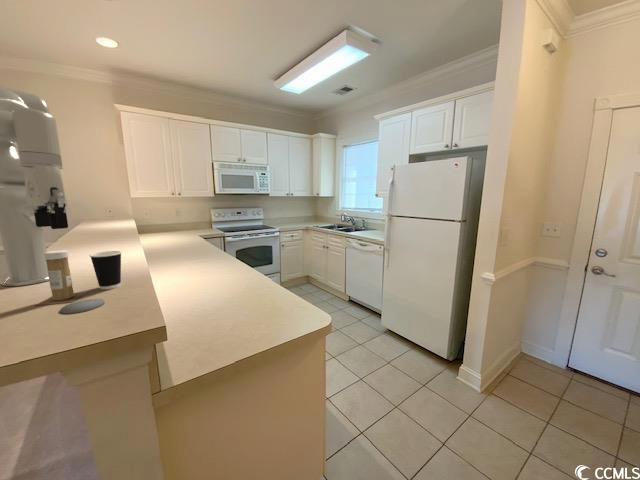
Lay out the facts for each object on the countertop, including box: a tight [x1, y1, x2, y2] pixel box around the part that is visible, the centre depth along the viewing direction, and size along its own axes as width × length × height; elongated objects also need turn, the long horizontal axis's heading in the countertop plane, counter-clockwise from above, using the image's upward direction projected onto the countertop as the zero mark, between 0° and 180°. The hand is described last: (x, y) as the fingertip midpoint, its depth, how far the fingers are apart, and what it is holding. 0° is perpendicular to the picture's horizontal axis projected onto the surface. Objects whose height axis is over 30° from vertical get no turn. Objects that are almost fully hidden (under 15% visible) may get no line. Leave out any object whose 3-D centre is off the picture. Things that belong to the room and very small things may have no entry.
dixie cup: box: [89, 250, 123, 290], centre depth 82 cm, size 8×8×11 cm
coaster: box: [60, 298, 105, 315], centre depth 68 cm, size 8×8×1 cm
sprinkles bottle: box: [44, 249, 75, 301], centre depth 72 cm, size 5×5×14 cm
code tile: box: [34, 291, 89, 307], centre depth 73 cm, size 8×8×1 cm
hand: (52, 227), depth 70 cm, fingers open, 9 cm apart
